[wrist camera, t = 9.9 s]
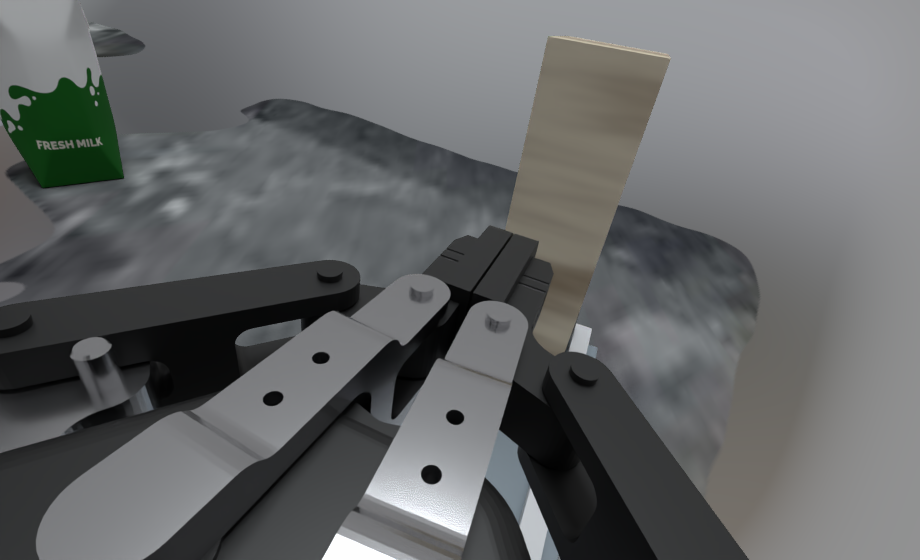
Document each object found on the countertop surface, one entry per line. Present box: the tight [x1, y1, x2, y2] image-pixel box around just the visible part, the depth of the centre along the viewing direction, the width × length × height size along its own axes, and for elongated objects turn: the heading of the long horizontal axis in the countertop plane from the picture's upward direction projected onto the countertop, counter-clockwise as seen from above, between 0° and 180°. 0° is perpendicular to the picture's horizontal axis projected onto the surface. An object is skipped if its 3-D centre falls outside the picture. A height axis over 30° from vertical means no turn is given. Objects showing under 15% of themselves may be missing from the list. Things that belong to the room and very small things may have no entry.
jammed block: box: [505, 36, 671, 356], centre depth 25 cm, size 5×5×20 cm
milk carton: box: [0, 0, 124, 188], centre depth 43 cm, size 9×9×20 cm
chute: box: [400, 314, 597, 560], centre depth 26 cm, size 21×10×4 cm, turn 159°
